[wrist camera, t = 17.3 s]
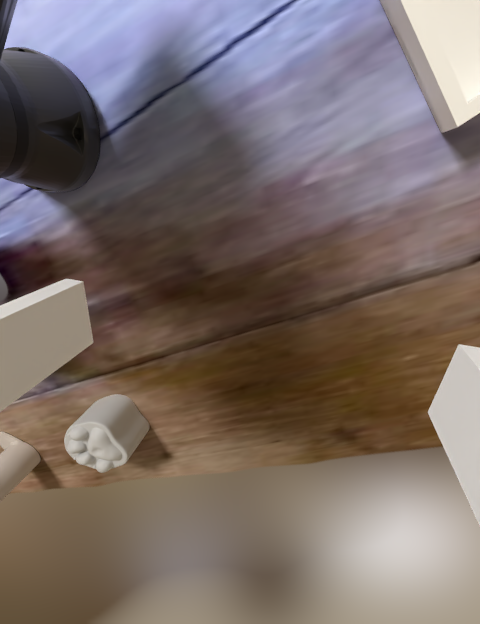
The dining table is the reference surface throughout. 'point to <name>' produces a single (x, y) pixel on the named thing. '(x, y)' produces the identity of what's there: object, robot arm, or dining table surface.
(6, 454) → the candle
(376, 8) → the dining table surface
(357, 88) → the dining table surface
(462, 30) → the tray
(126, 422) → the lumpy-topped squat cylinder
